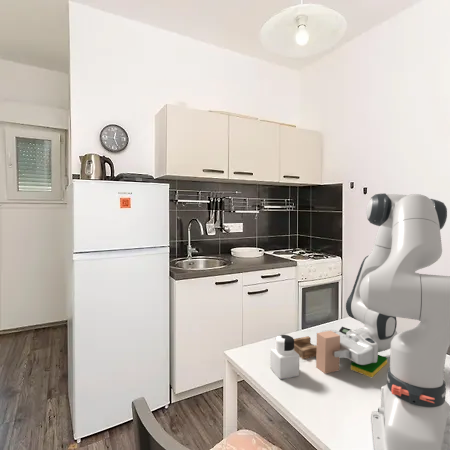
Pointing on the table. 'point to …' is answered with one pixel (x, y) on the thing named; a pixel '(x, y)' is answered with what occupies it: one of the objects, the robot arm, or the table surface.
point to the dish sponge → (370, 366)
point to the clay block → (327, 352)
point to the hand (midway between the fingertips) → (326, 349)
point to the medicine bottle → (284, 358)
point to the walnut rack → (304, 347)
